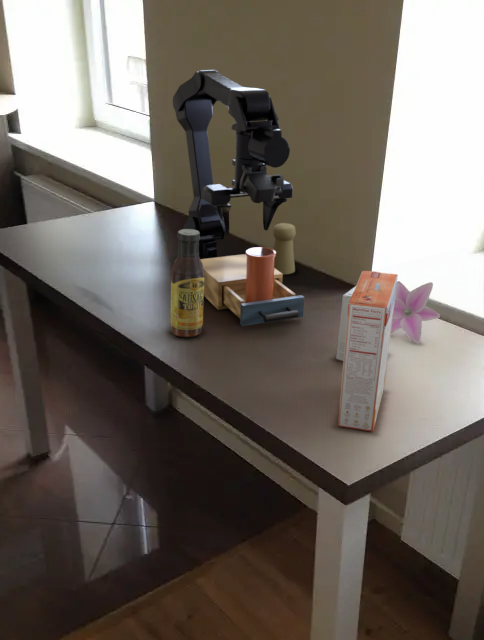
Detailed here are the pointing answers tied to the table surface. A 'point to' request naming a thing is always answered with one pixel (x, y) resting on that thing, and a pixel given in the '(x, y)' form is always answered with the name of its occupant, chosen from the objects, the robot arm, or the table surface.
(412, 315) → the lily
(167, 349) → the table surface
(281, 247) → the cork
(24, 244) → the table surface
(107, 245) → the table surface
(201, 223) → the robot arm
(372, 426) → the cracker box
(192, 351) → the table surface
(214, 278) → the cabinet
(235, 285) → the drawer
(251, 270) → the cup
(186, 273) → the sauce bottle
